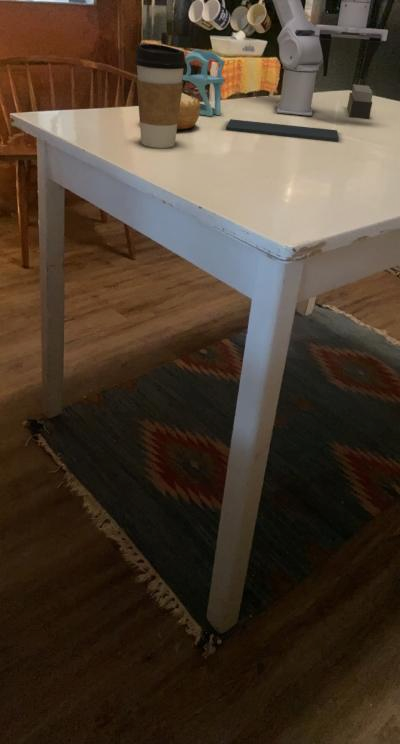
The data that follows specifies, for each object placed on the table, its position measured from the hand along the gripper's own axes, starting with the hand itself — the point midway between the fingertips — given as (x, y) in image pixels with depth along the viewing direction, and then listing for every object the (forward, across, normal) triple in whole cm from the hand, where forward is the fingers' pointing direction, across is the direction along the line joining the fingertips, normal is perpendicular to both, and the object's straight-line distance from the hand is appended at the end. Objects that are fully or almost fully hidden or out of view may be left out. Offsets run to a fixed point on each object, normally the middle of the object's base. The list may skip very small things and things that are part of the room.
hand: (343, 77), depth 128 cm
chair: (+9, -29, -4) cm, 31 cm away
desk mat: (+9, -11, -15) cm, 21 cm away
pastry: (+9, -33, -22) cm, 40 cm away
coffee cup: (+9, -32, -37) cm, 49 cm away
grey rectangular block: (+9, +6, +15) cm, 18 cm away
